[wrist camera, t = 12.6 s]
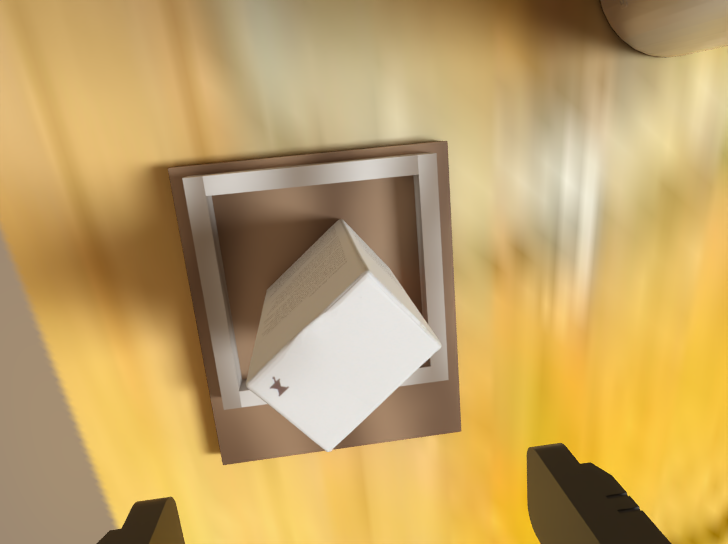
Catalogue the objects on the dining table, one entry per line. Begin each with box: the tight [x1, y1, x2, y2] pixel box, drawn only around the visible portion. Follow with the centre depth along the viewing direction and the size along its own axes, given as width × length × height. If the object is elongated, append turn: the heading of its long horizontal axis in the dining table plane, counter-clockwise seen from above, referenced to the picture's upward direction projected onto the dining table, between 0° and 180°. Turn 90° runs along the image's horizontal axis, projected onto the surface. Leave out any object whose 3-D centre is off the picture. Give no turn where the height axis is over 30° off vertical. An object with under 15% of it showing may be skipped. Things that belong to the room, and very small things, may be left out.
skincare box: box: [246, 219, 441, 452], centre depth 24 cm, size 6×4×12 cm
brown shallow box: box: [168, 141, 461, 465], centre depth 30 cm, size 15×18×3 cm
